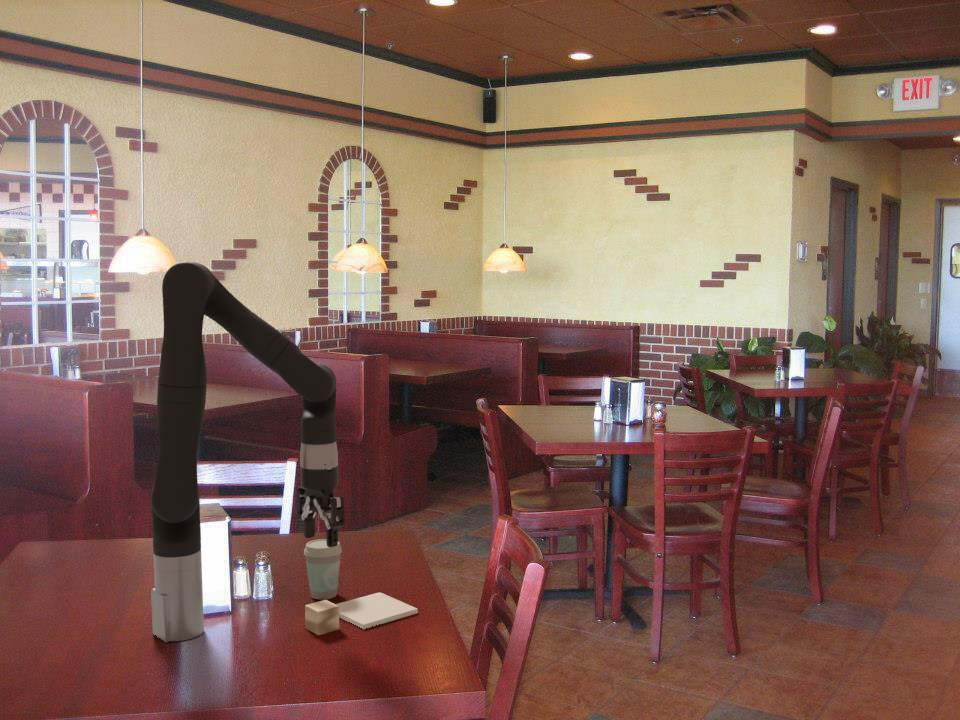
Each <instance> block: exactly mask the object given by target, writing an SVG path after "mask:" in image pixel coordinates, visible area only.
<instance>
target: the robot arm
mask: <svg viewBox="0 0 960 720" xmlns="http://www.w3.org/2000/svg"><path fill="white" fill-rule="evenodd" d="M161 290H162V292H161V293H162V309H163V310H162V311H163V313H162V314H163V316H162V317H163V337H162V344H161V345H162V346H161V351H160V361H159V372H158V380H157V395H156V396H157V397H156V423H157V424H156V425H157V429H156V430H157V439H158V455H157V464H156V473H155V476H154V483H153V485H152V488H151V491H150V504H151V509H152V510H151V511H152V514H151V515H152V551H153V552H152V553H153V574H154V575H153V576H154V587H153V588H151V590H150V596H151V597H150V598H151V599H150V600H151V619H152V620H151V621H152V622H151V623H152V624H151V625H152V635H153V634H154V635H153V636H155V635H156V636H157V637H156V636H155V637H156V638H158V639H159V638H160V639H161V641H162V640H163V641H164V642H163V641H162V642H163V643H169V641H170V642H182V641H186V640H190V639H194V638H197V637H199V636H200V635H202V634H203V633H204V631H205V625H204V624H205V618H204V598H203V597H204V595H203V594H204V593H203V570H202V568H203V566H202V542H201V541H202V534H201V533H202V530H201V529H202V528H201V507H200V506H201V505H200V489H199V488H200V487H199V484H198V452H199V445H200V440H201V435H202V429H203V423H204V418H205V409H206V400H207V388H208V387H207V385H208V377H207V372H208V371H207V364H206V357H205V351H204V343H203V325H204V318H205V317H208V318H209V319H211V320H212V321H214V322H215V323H216V324H218V325H219V326H220V327H221V328H223V329H224V330H225V331H226V332H227V333H228V334H230V336H231V337H233V339H235V341H237V342H238V344H240V346H242V347H243V349H244V350H245V351H247V352H248V353H249V354H250V355H251V356H253V357H254V358H255V359H256V360H258V361H259V362H260V363H261V364H263V365H264V366H265V367H267V368H268V369H270V370H271V371H272V372H273V373H275V374H277V375H278V376H279V377H280V378H281V379H282V380H283V381H284V382H285V383H286V384H287V385H288V386H289V387H290V388H291V389H292V390H293V391H294V392H295V393H297V394H298V395H299V396H301V397H302V411H303V412H302V416H301V421H300V451H299V452H300V453H299V456H300V458H299V462H300V464H299V465H300V486H299V487H297V488H296V514H297V516H301V520H302V521H303V537H304V538H305V539H312V538H314V537H315V535H316V531H315V530H316V527H315V525H316V522H315V517H316V515H318V516H319V518H320V520H322V521H324V524H325V527H326V530H325V531H326V539H327V546H328V547H335V546H337V545H338V542H339V537H338V536H339V528H341V527H345V525H346V517H345V500H344V496H338V497H337V496H335V492H334V489H335V488H337V486H338V485H339V452H338V446H337V425H336V424H337V423H336V402H337V378H336V375H335V373H334V371H333V370H332V369H331V368H330V367H329V366H328V365H325V364H318V363H315V361H313V360H311V358H309V357H308V356H307V355H306V354H304V353H303V352H302V350H301V349H300V347H299V346H297V344H296V343H294V342H293V341H292V340H291V339H289V338H288V337H287V336H286V335H284V334H283V333H281V332H280V331H279V330H278V329H277V328H275V327H274V326H272V325H271V324H270V323H268V322H267V321H266V320H264V319H262V317H260V316H259V315H257V314H256V313H255V312H253V311H252V310H251V309H249V308H248V307H247V306H246V305H244V303H242V302H241V301H240V300H239V299H238V298H237V297H236V296H234V295H233V294H232V293H231V292H230V291H229V290H228V288H226V287H225V286H224V285H223V284H222V282H220V281H219V279H218V278H217V277H216V276H215V275H214V274H213V272H212V271H211V270H210V269H209V268H208V267H207V266H205V265H204V264H202V263H199V262H193V261H181V262H178V263H175V264H173V265H172V266H171V267H169V268H168V270H167V271H166V272H165V274H164V277H163V279H162V283H161ZM303 504H304V505H303ZM160 639H159V640H160Z"/></svg>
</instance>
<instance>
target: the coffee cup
mask: <svg viewBox="0 0 960 720" xmlns="http://www.w3.org/2000/svg"><path fill="white" fill-rule="evenodd" d="M342 553H343V550H342V546H341V543H340V541H338V545H337V546H335V547H328V546H327V538H321V539H320V538H319V539H314V540H311V541H308V542H306V544H305V548H304V549H303V555H304V556H305V565H306V571H307V578H308V585H309V592H310V597H311V598H312V599H314V600H318V601H319V600H320V601H323V600H331V599H333V598H335V597H336V596H338V586H339V578H340V577H339V576H340V564H341V555H342Z"/></svg>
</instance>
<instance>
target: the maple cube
mask: <svg viewBox="0 0 960 720" xmlns="http://www.w3.org/2000/svg"><path fill="white" fill-rule="evenodd" d="M336 604H337V603H336ZM336 604H335V603H333V602H331V601H329V600H328V599H325V600H320V601H319V600H318V601H315V602H312V603H308V604H305V605H304V615H305V616H304V621H305V622H304V623H305V624H304V626H305V629H306V630H307V631H310V632H312V633H314V635H317V636H321V635H325V634H329V633H330V632H331V633H332V632H335V631H338V630H340V618H339V606H338V605H336Z"/></svg>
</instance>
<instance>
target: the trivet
mask: <svg viewBox="0 0 960 720" xmlns="http://www.w3.org/2000/svg"><path fill="white" fill-rule="evenodd" d="M336 605H338V606H339V619H341V620H344V621H345V622H347V623H349V622H350V623H349V624H351V623H352V624H351V625H353V624H354V626H355V625H356V626H355V627H357V626H358V627H357V628H359V627H360V628H359V629H361V628H362V630H366V628H367V629H370V628H372V626H373V627H376V625H377V626H379V624H380V625H382V624H386V623H389V622H393V621H396V620H399V619H403V618H406V617H409V616H413V615H417V614H418V608H417V607H414V606H413V605H410V604H408V603H406V602H403V601H401V600H399V599H396V598H394V597H392V596H390V595H387V594H385V593H382V592H376V593H372V594H371V593H370V594H368V595H365V596H361V597H357V598H354V599H349V600H346V601H342V602H338V603H336Z"/></svg>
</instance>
